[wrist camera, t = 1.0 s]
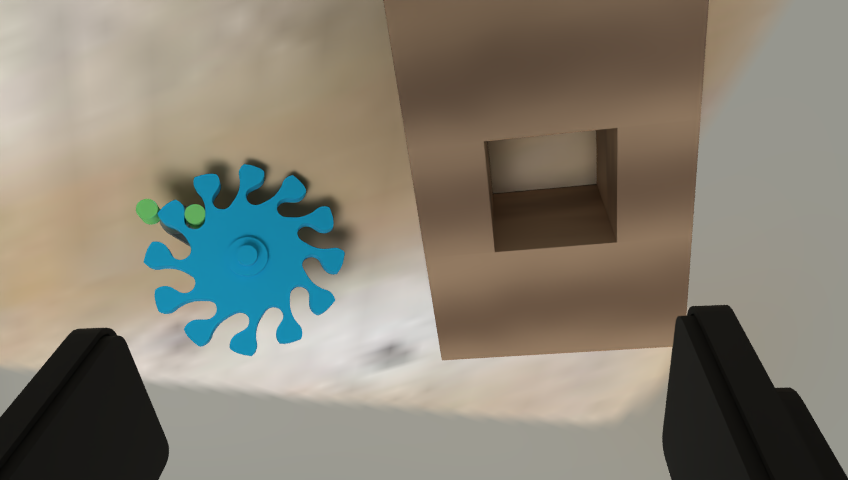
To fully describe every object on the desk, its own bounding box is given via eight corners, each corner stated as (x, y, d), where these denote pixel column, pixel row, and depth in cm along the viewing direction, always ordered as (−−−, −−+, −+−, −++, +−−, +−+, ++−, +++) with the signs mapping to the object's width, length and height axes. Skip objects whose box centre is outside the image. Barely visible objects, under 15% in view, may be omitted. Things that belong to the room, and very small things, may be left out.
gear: (380, 225, 36) (278, 392, 33) (366, 247, 41) (278, 391, 38) (199, 114, 35) (78, 276, 32) (210, 151, 40) (108, 291, 38)
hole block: (399, -29, 31) (383, -3, 25) (670, -66, 29) (712, -47, 24) (446, 293, 39) (442, 360, 34) (656, 277, 38) (684, 346, 33)
